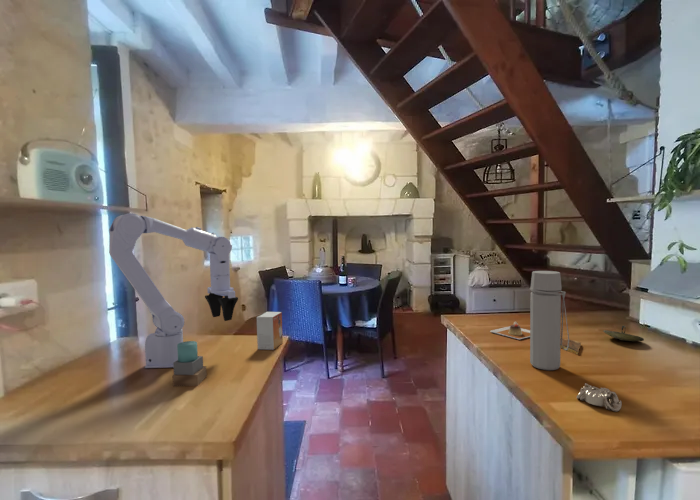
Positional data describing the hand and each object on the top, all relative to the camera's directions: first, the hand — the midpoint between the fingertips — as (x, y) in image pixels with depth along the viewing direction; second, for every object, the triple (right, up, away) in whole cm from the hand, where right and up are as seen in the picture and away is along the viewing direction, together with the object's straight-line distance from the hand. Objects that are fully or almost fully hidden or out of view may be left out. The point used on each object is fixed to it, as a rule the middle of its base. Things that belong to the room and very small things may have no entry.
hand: (222, 318), depth 119 cm
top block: (-1, -9, -23) cm, 25 cm away
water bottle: (+92, -10, -19) cm, 95 cm away
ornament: (+92, -11, -40) cm, 101 cm away
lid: (+126, -8, +1) cm, 126 cm away
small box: (+14, -10, +5) cm, 18 cm away
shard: (+107, -9, -4) cm, 108 cm away
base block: (0, -12, -23) cm, 26 cm away
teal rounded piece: (-1, -6, -23) cm, 24 cm away
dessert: (+97, -8, +12) cm, 98 cm away
